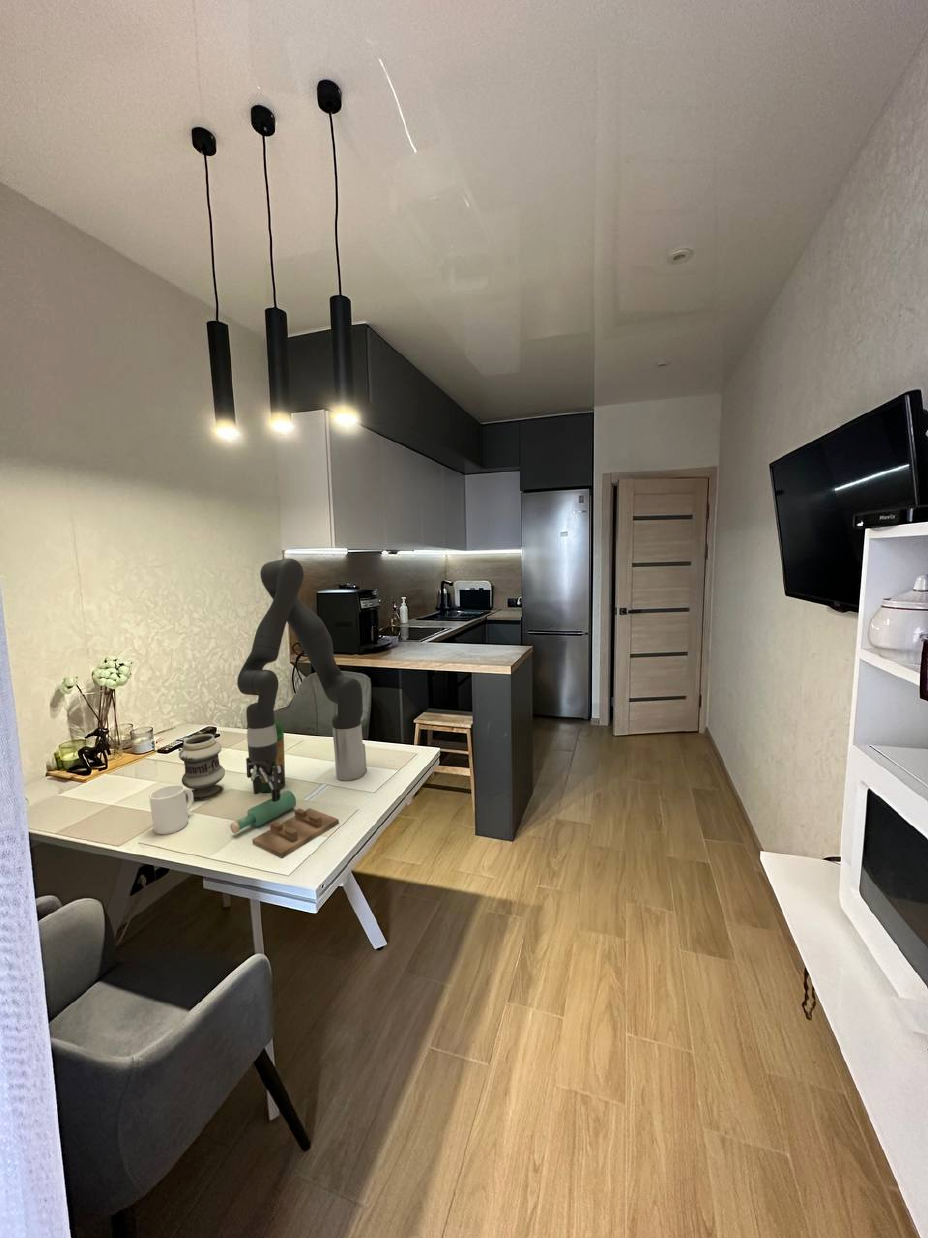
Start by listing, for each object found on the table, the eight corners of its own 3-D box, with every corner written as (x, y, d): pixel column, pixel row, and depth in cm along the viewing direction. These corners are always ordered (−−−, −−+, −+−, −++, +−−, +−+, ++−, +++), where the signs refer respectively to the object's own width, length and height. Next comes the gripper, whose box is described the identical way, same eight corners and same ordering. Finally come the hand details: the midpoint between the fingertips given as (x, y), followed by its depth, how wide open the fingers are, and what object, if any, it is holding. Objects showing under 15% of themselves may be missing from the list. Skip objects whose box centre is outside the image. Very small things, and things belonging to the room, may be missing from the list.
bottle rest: (310, 812, 142) (308, 800, 141) (338, 823, 135) (337, 810, 134) (252, 843, 127) (251, 830, 126) (281, 858, 120) (280, 844, 120)
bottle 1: (276, 796, 152) (268, 707, 148) (245, 794, 154) (236, 707, 151) (295, 780, 162) (287, 697, 159) (265, 778, 165) (257, 696, 161)
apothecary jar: (177, 804, 149) (170, 747, 147) (192, 786, 161) (186, 733, 159) (219, 800, 151) (213, 743, 149) (231, 782, 163) (226, 729, 161)
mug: (184, 811, 146) (179, 777, 144) (206, 814, 143) (202, 780, 142) (146, 833, 134) (141, 797, 133) (169, 837, 132) (165, 800, 130)
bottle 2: (286, 806, 146) (283, 789, 146) (297, 809, 143) (294, 792, 143) (229, 835, 132) (226, 816, 131) (240, 840, 129) (237, 820, 128)
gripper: (290, 741, 135) (294, 798, 137) (259, 732, 144) (263, 785, 146) (265, 750, 129) (270, 809, 131) (235, 740, 138) (239, 796, 139)
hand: (266, 797), depth 138 cm, fingers open, 8 cm apart
